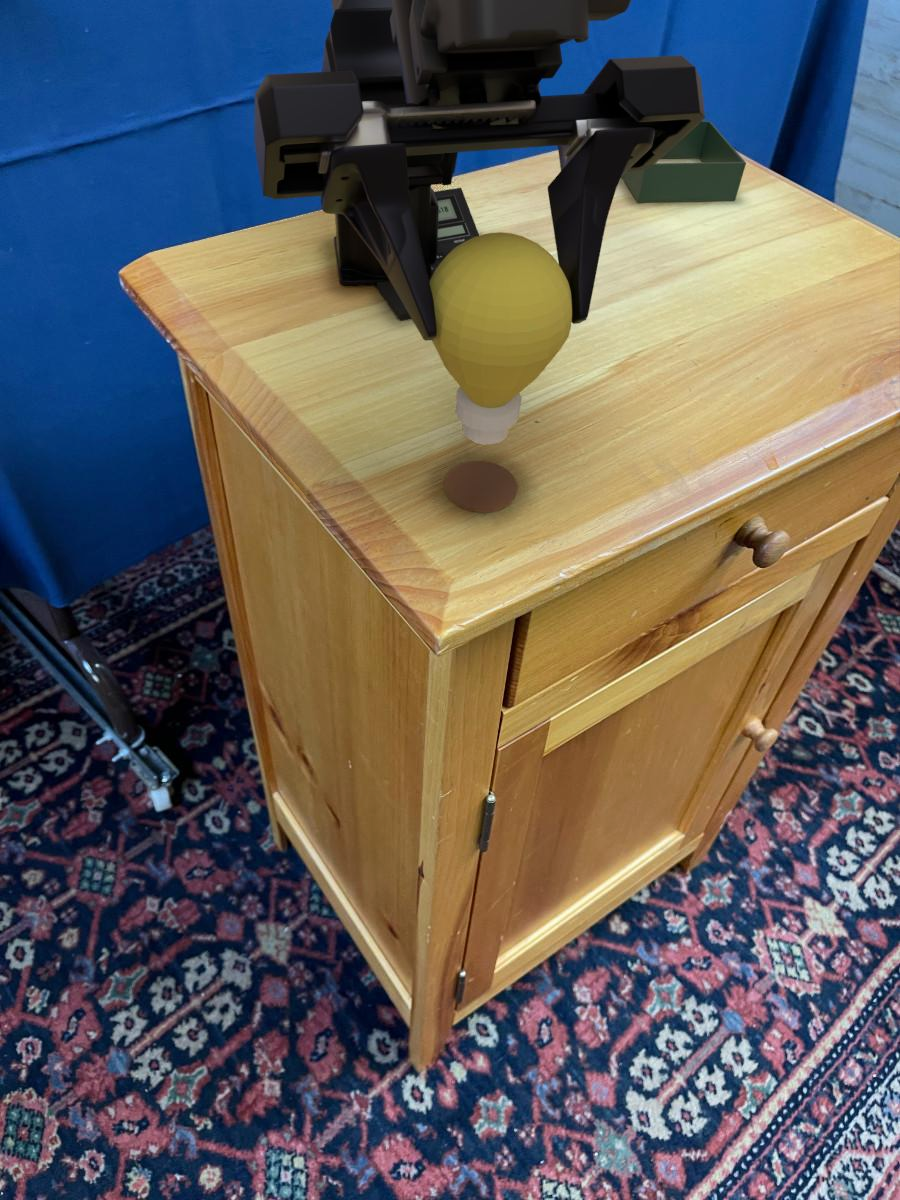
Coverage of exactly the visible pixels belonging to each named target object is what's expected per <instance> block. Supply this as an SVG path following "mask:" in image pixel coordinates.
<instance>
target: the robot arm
mask: <svg viewBox="0 0 900 1200" xmlns="http://www.w3.org/2000/svg"><path fill="white" fill-rule="evenodd" d="M631 2H632V0H331V7H332V11H333V15H332V18H331V21H330V26H329V31H328V33H327V35H326V38H325V41H324V47H323V49H324V50H323V57H322V65H321V71H314V72H293V73H271V74H266V75H265V77H264V78H263V80H262V81H261V83H260V85H259V87H258V88H257V90H256V91H255V92H254V133H253V134H254V135H253V136H254V138H253V139H254V146H255V155H256V156H255V157H256V163H257V168H258V173H259V180H260V186H261V190H262V197H267V198H270V199H273V200H286V199H287V200H288V199H299V198H300V199H301V198H312V197H320V205H321V210H322V212H323V213H324V214H329V215H334V221H335V236H334V237H333V246H334V247H333V248H334V253H335V260H336V261H335V262H336V269H337V276H338V284H339V285H340V286H342V287H344V288H345V287H347V288H349V287H375V286H377V282H387V281H391V283H392V285H393V287H394V288H395V290H396V292H397V294H398V295H399V297H400V299H401V301H402V303H403V304H404V306H405V308H406V310H407V311H408V313H409V315H410V317H411V318H412V319H411V320H412V322H413V324H414V325H415V327H416V329H417V331H418V332H419V334H420V336H421V338H422V339H423V340H424V341H425V342H427V341H432V340H433V339H434V338H435V337H436V335H437V328H436V319H435V310H434V301H433V295H432V291H431V287H430V282H429V280H430V279H431V278H432V276H433V272H432V269H431V265H430V263H434V262H435V261H436V260H437V241H438V215H439V205H438V202H437V199H436V196H435V192H436V191H435V190H434V189H433V188H432V186H433V185H435V186H436V185H442V186H451V185H452V181H453V176H454V174H455V172H456V165H457V159H458V154H459V153H464V152H465V153H467V152H483V151H497V150H513V149H525V148H526V149H527V148H542V147H556V146H557V151H558V158H559V159H558V160H559V165H560V166H559V167H560V171H559V173H558V174H557V175H556V176H555V177H554V179H552V181H551V182H550V183H549V184H548V185H547V195H548V200H549V209H550V215H551V221H552V222H551V223H552V227H553V234H554V241H555V248H556V254H557V263H558V264H559V266H560V267H561V269H562V271H563V273H564V275H565V277H566V279H567V281H568V283H569V287H570V290H571V297H572V322H571V324H573V325H576V324H577V325H578V324H581V323H583V322H584V321H586V320H587V318H588V316H589V313H590V309H591V302H592V298H593V297H592V296H593V293H594V292H593V291H594V287H595V281H596V276H597V272H598V271H597V270H598V266H599V260H600V257H601V256H600V254H601V252H602V251H601V250H602V245H603V240H604V235H605V230H606V225H607V220H608V217H609V213H610V210H611V206H612V203H613V200H614V197H615V193H616V190H617V187H618V185H619V184H620V183H619V182H620V180H621V179H622V177H621V176H622V175H623V174H624V173H630V172H638V171H640V170H643V169H646V168H649V167H652V166H653V165H654V164H655V163H658V162H659V161H660V160H661V159H663V158H662V157H663V156H664V155H665V154H666V153H667V152H668V151H669V150H670V149H672V148H673V147H674V146H675V145H676V144H677V143H678V142H679V141H680V140H681V139H683V138H684V137H685V136H686V135H687V134H688V133H689V132H690V131H691V130H693V129H694V128H695V127H696V126H697V125H698V124H699V123H700V122H701V121H705V119H706V113H705V103H704V95H703V86H702V79H701V76H700V74H699V72H698V71H697V68H696V66H695V65H693V63H691V62H690V61H689V60H688V59H687V58H685V57H684V56H683V55H663V56H662V55H661V56H643V57H642V56H640V57H639V56H638V57H621V58H620V57H619V58H609V59H608V60H607V61H606V63H605V64H604V66H603V67H602V68H601V70H599V72H598V74H597V75H596V76H595V78H594V79H592V81H591V82H590V84H589V85H588V87H586V89H585V90H584V92H583V93H575V94H555V95H554V94H553V95H541V88H540V82H541V81H542V80H543V79H544V80H545V79H553V78H554V77H555V75H556V74H557V73H558V71H559V69H560V68H561V66H562V65H563V57H562V49H561V46H562V45H564V44H565V43H568V42H571V41H573V40H574V42H575V43H576V44H577V43H580V44H581V43H584V42H586V41H588V39H589V27H590V25H589V24H590V23H589V22H599V21H601V22H602V21H607V20H609V19H611V18H614V17H616V16H618V15H619V16H620V15H621V14H623V13H625V12H626V11H627V10H628V9H629V8H630V5H631ZM428 275H429V276H428Z"/></svg>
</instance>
